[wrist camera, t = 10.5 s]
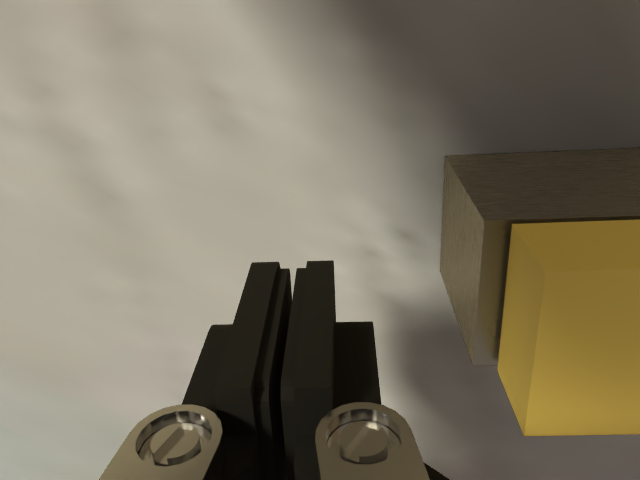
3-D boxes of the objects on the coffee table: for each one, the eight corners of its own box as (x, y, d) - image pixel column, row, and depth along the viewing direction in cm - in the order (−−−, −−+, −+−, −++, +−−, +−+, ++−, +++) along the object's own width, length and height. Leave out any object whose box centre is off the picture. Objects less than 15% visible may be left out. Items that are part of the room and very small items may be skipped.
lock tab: (497, 370, 13) (523, 436, 11) (512, 223, 11) (545, 271, 9) (680, 366, 13) (738, 432, 11) (720, 216, 11) (795, 263, 9)
